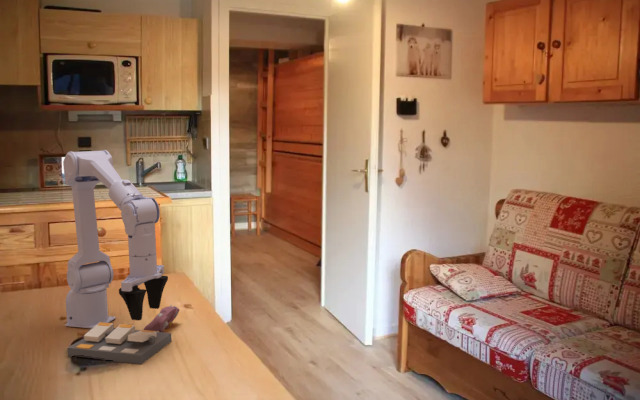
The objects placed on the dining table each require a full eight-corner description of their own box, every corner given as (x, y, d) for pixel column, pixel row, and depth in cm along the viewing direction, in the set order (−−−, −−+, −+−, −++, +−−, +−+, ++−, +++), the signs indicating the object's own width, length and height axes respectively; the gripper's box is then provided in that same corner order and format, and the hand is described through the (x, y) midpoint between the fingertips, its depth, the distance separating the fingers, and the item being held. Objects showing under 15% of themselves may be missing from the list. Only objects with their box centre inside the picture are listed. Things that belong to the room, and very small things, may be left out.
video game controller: (156, 343, 136) (167, 319, 135) (140, 334, 137) (151, 309, 135) (174, 328, 146) (185, 305, 144) (159, 320, 146) (169, 297, 145)
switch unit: (67, 356, 125) (66, 341, 125) (103, 334, 138) (102, 320, 137) (141, 364, 121) (140, 348, 120) (171, 341, 133) (170, 327, 133)
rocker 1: (84, 340, 128) (83, 335, 128) (100, 326, 133) (99, 321, 133) (98, 341, 127) (97, 336, 127) (114, 328, 133) (113, 323, 132)
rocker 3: (127, 340, 125) (127, 334, 125) (142, 335, 131) (142, 329, 131) (142, 342, 124) (142, 336, 124) (156, 336, 130) (156, 331, 130)
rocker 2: (106, 342, 127) (105, 337, 126) (121, 328, 132) (120, 323, 132) (120, 344, 126) (119, 338, 125) (135, 329, 131) (134, 325, 131)
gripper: (141, 262, 117) (144, 326, 119) (175, 247, 131) (177, 304, 133) (110, 261, 118) (114, 323, 120) (147, 246, 132) (150, 302, 134)
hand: (145, 313), depth 127 cm, fingers open, 7 cm apart
